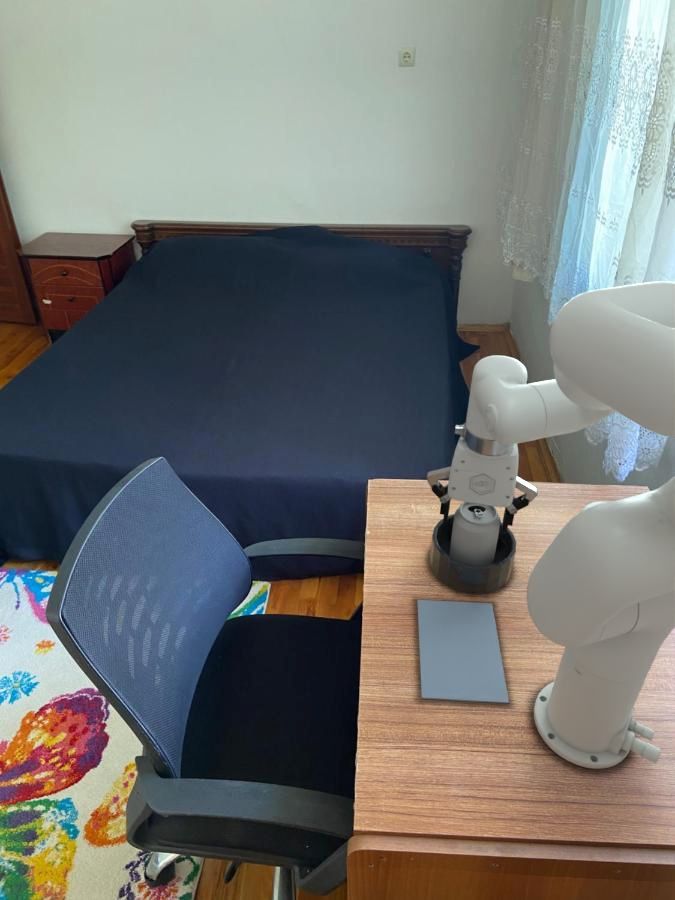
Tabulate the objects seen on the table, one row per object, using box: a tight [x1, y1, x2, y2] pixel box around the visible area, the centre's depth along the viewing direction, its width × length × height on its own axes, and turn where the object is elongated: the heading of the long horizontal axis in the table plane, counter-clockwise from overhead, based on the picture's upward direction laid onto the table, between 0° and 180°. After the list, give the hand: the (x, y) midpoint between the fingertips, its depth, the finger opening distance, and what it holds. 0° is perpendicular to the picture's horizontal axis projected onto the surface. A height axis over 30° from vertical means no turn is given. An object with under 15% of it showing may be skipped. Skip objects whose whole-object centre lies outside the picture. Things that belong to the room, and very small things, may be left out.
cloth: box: [416, 599, 510, 705], centre depth 96 cm, size 18×12×1 cm, turn 176°
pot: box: [429, 513, 517, 595], centre depth 109 cm, size 14×14×6 cm
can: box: [449, 501, 502, 566], centre depth 108 cm, size 8×8×12 cm
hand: (474, 521), depth 106 cm, fingers open, 9 cm apart
